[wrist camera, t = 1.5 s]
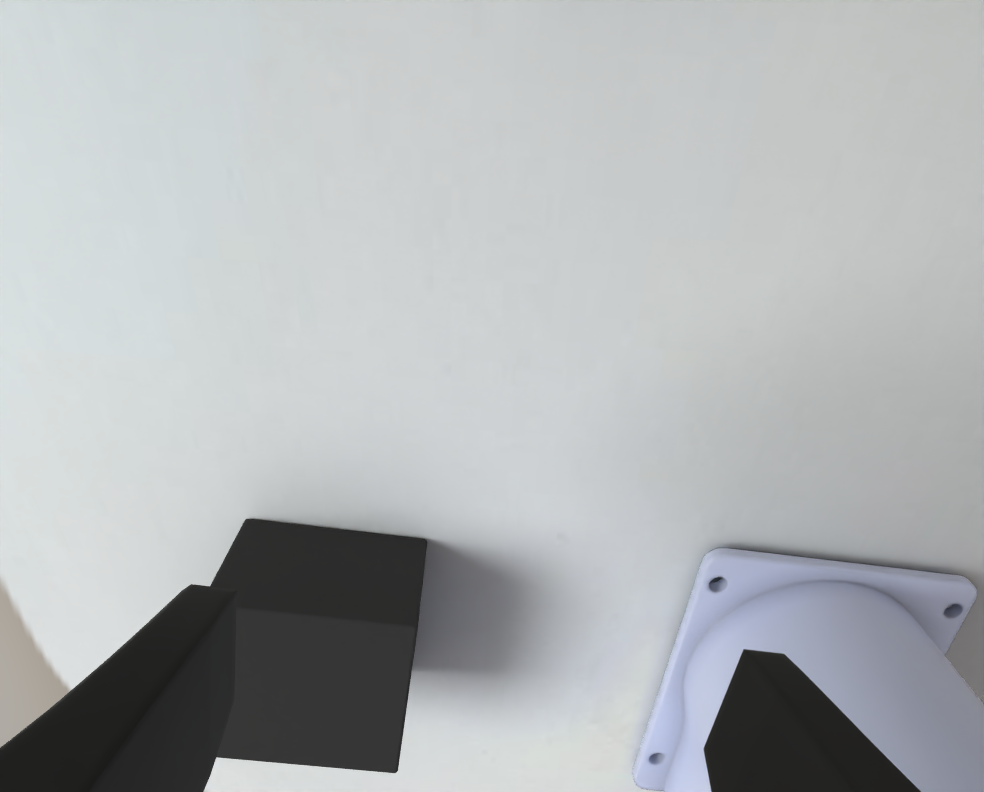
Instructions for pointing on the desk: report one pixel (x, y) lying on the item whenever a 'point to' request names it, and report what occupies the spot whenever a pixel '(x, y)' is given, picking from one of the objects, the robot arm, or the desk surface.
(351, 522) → the desk surface
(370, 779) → the desk surface
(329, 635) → the small block
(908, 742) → the robot arm
